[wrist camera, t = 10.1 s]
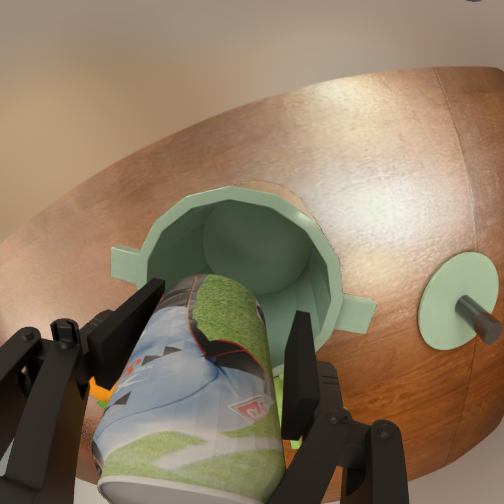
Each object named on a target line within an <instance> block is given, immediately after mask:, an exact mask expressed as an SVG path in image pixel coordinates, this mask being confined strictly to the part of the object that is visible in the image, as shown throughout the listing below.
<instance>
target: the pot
mask: <svg viewBox="0 0 504 504" xmlns="http://www.w3.org/2000/svg"><path fill="white" fill-rule="evenodd" d="M198 274H213V275H220V276H224V277H227V278H230V279H232V280H234V281H237V282H239V283H240V284H242V285H243V286H244V287H246V288H247V289H248V290H249V291H250V292H251V293H252V294H253V295H254V296H255V297H256V299H257V300H258V301H259V303H260V305H261V307H262V309H263V313H264V317H265V323H266V330H267V337H268V344H269V351H270V358H271V365H272V372H273V377H275V376H277V375H280V374H282V373H284V351H285V347H286V343H287V340H288V337H289V333H290V330H291V327H292V323H293V320H294V316H295V313H296V310H299V311H304V312H309V313H310V317H311V325H312V332H313V339H314V347H315V353H316V352H317V351H318V350H319V349H320V348H321V347H322V345H323V344H324V343H325V342H326V341H327V340H328V339H329V338H330V337H331V335H332V333H333V330H334V329H336V330H342V331H348V332H355V333H362V334H366V332H367V329H368V327H369V325H370V322H371V320H372V317H373V314H374V312H375V309H376V307H377V304H376V302H375V301H374V299H370V298H365V297H360V296H354V295H349V294H344V293H343V287H342V278H341V269H340V261H339V258H338V257H337V255H336V253H335V251H334V250H333V248H332V246H331V245H330V243H329V241H328V240H327V238H326V236H325V235H324V233H323V232H322V230H321V228H320V227H319V225H318V223H317V222H316V220H315V219H314V217H313V216H312V214H311V212H310V211H309V209H308V208H307V206H306V205H305V203H304V202H303V200H302V199H301V198H299V197H298V196H296V195H295V194H294V193H292V192H291V191H289V190H288V189H286V188H285V187H283V186H282V185H279V184H274V183H269V182H264V181H258V180H253V181H248V182H243V183H239V184H234V185H230V186H225V187H221V188H217V189H213V190H209V191H204V192H200V193H196V194H193V195H189V196H186V197H184V198H183V199H182V200H181V201H179V202H178V203H177V204H176V205H174V206H173V207H172V208H171V209H169V210H168V211H167V212H166V213H164V214H163V215H162V216H161V217H159V218H158V219H157V220H156V221H155V222H154V224H153V226H152V228H151V230H150V232H149V234H148V236H147V238H146V240H145V242H144V244H143V246H142V248H141V250H139V249H135V248H131V247H127V246H123V245H119V244H118V245H116V246H114V247H112V248H111V277H112V278H116V279H119V280H122V281H126V282H129V283H133V284H136V285H137V291H138V290H139V289H141V288H142V287H143V286H144V285H145V284H146V283H148V282H149V281H150V280H151V279H152V278H157V279H161V280H165V292H166V290H167V289H168V288H170V287H171V286H172V285H173V284H174V283H176V282H178V281H179V280H181V279H184V278H186V277H189V276H194V275H198Z"/></svg>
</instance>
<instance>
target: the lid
mask: <svg viewBox="0 0 504 504" xmlns="http://www.w3.org/2000/svg"><path fill="white" fill-rule="evenodd" d="M497 295H498V275H497V271H496V268H495V266H494V264H493V263H492V261H491V260H490V259H489V258H488V257H486V256H485V255H483V254H481V253H479V252H464V253H461V254H458V255H456V256H454V257H453V258H451V259H450V260H448V261H447V262H446V263H445V264H443V265H442V266H441V267H440V268H439V270H438V271H437V272H436V273H435V274H434V276H433V277H432V279H431V280H430V282H429V283H428V285H427V287H426V289H425V291H424V293H423V296H422V299H421V302H420V306H419V311H418V326H419V330H420V333H421V335H422V337H423V339H424V340H425V341H426V343H427V344H429V345H430V346H431V347H433V348H436V349H440V350H449V349H453V348H457V347H459V346H461V345H463V344H465V343H466V342H468V341H469V340H471V339H472V338H473V337H474V336H475V335H476V334H477V335H478V336H479V337H480V338H481V339H482V340H483V341H484V343H485V344H487V345H490V344H492V343H494V342H495V341H496V340H497V339H498V337H499V335H500V334H501V331H502V324H501V323H500V322H499V321H498V320H497V319H496V318H495V317H494V316H492V315H491V313H492V311H493V309H494V306H495V303H496V300H497Z"/></svg>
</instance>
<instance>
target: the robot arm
mask: <svg viewBox="0 0 504 504" xmlns="http://www.w3.org/2000/svg"><path fill="white" fill-rule="evenodd" d="M164 293H165V280H161V279H157V278H152V279H151V280H150V281H149V282H148V283H146V284H145V285H144V286H143V287H142V288H141V289H139V290H138V291H137V292H136V293H135V294H134V295H132V296H131V297H130V298H129V299H128V300H127V301H126V302H124V303H123V304H122V305H121V306H120V307H119V308H118V309H116V310H115V311H111V310H109V309H108V310H105V311H103V312H100V313H99V314H98V315H96V316H95V317H94V319H92V320H90V321H89V323H87V324H86V325H85V326H83V327H82V328H81V329H80V330H79V327H78V324H77V322H75V321H74V320H71V319H66V318H62V319H57V320H55V321H54V322H52V323H51V324H50V327H51V331H52V336H53V341H52V340H47V339H43V338H41V334H40V332H39V330H38V329H36V328H34V327H24V328H21V329H20V330H18V331H17V332H16V333H15V334H14V335H13V336H12V337H11V338H10V339H9V340H8V341H7V342H5V343H4V344H3V345H2V346H1V347H0V461H1V459H2V457H3V456H4V453H5V452H6V450H7V448H8V447H9V445H10V444H11V442H12V440H13V439H14V441H13V445H12V449H11V452H10V456H9V460H8V464H7V468H6V472H5V474H4V475H3V476H0V504H73V503H74V487H75V476H76V467H77V458H78V451H79V444H80V438H81V432H82V426H83V420H84V415H85V410H86V405H87V401H88V396H89V392H90V383H89V381H90V380H91V378H92V377H93V376H94V379H95V384H96V385H97V386H100V387H102V388H104V389H106V390H108V391H110V390H111V389H112V387H113V386H114V385H115V383H116V382H117V381H118V379H119V378H120V377H121V375H122V373H123V371H124V369H125V367H126V364H127V362H128V360H129V358H130V356H131V354H132V352H133V350H134V348H135V346H136V344H137V343H138V341H139V339H140V337H141V335H142V333H143V331H144V329H145V327H146V325H147V323H148V321H149V319H150V318H151V316H152V314H153V312H154V310H155V308H156V306H157V304H158V303H159V301H160V299H161V297H162V296H163V294H164ZM24 366H25V369H26V371H25V372H24V373H22V371H21V370H22V369H23V368H24ZM281 435H282V439H284V440H292V441H299V439H300V437H301V436H302V444H301V446H300V447H299V449H298V451H297V452H296V454H295V456H294V458H293V460H292V462H291V463H290V465H289V467H288V468H287V470H286V474H285V476H284V478H283V479H282V481H281V482H280V484H279V486H278V487H277V489H276V490H275V492H274V493H273V495H272V496H271V498H270V499H269V501H268V503H267V504H320V503H321V501H322V498H323V496H324V494H325V492H326V490H327V487H328V485H329V483H330V480H331V478H332V476H333V473H334V471H335V468H336V466H337V465H338V466H341V467H343V472H342V486H341V498H340V504H409V494H408V483H407V474H406V465H405V458H404V450H403V444H402V437H401V432H400V430H399V428H398V427H397V426H396V424H394V423H393V422H391V421H388V420H378V421H375V422H374V423H373V424H372V425H371V426H370V425H366V424H363V423H360V422H357V421H355V420H353V419H352V416H351V414H350V413H349V412H348V411H347V410H346V409H345V408H344V407H343V402H342V396H341V391H340V386H339V381H338V376H337V371H336V369H335V368H334V366H333V365H332V364H331V363H329V362H322V361H316V355H315V347H314V339H313V332H312V325H311V317H310V313H309V312H304V311H299V310H296V313H295V316H294V320H293V323H292V327H291V330H290V333H289V337H288V340H287V343H286V347H285V351H284V378H283V400H282V418H281ZM14 437H15V438H14Z"/></svg>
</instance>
